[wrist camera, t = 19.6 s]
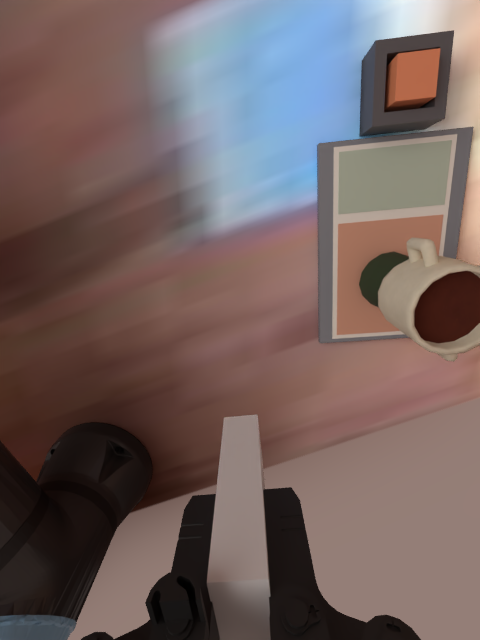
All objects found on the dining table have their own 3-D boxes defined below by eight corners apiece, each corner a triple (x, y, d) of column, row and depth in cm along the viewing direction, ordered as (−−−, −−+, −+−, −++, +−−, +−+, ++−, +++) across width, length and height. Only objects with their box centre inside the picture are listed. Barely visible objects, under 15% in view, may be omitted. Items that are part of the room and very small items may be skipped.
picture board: (318, 340, 38) (320, 343, 38) (317, 145, 32) (319, 143, 31) (441, 332, 37) (446, 335, 36) (468, 129, 31) (474, 126, 30)
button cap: (381, 112, 29) (395, 101, 26) (383, 70, 28) (397, 53, 25) (417, 108, 29) (435, 96, 26) (421, 65, 28) (440, 48, 25)
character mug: (426, 310, 36) (518, 359, 23) (366, 331, 37) (423, 387, 24) (406, 220, 33) (498, 221, 20) (341, 245, 34) (391, 260, 21)
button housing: (359, 136, 31) (372, 126, 28) (361, 60, 29) (375, 40, 26) (424, 129, 31) (444, 118, 27) (431, 52, 29) (454, 30, 25)
